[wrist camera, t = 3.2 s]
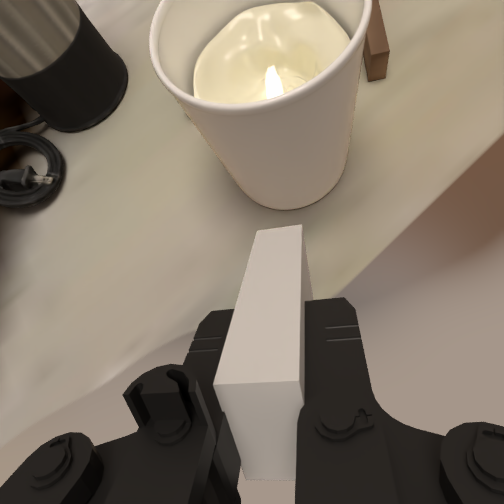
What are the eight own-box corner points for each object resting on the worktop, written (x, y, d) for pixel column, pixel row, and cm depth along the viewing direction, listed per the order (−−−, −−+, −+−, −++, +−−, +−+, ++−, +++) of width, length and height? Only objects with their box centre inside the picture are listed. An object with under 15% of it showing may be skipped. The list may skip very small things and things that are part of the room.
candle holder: (286, 249, 24) (242, 153, 13) (200, 166, 28) (109, 36, 17) (388, 152, 25) (428, -20, 14) (290, 82, 28) (259, -99, 17)
